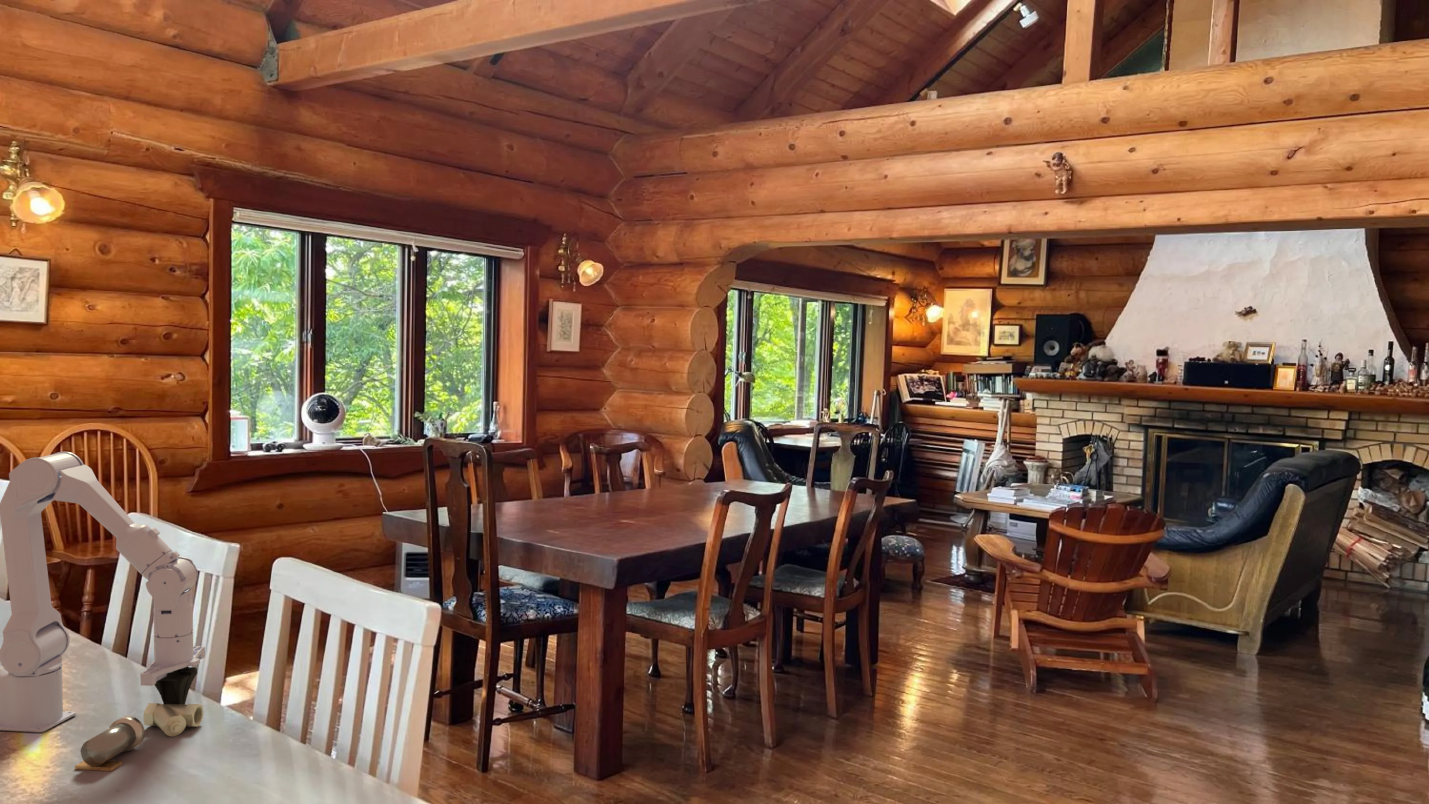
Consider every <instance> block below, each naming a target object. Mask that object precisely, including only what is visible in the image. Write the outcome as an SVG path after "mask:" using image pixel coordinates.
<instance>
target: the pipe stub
mask: <svg viewBox="0 0 1429 804" xmlns="http://www.w3.org/2000/svg"><path fill="white" fill-rule="evenodd" d="M145 730H146V729H145V727H144V723H142V721H141V720H139V719H138V718H136V717H134V716H131V715H127V716H126V715H125V716H122V717H120V718H118V719H117V720H115V721H113V722H112V723H111V724H110V726H109V728H107V729H106V730H104V731H102V732H101V733H98V734H97V735H95V736H92V738H90V739H87V741H85V742H83V744H82V746H81V747H80V755H81V758H82V760H83V761H81V762H79V763H77V764H76V765H74V770H82V771H85V770H86V771H101V772H102V771H104V772H113V771H114V770H116V769H117V768H118V767H121V766H123V761H122V760H111V759H113V758H114V757H116V756H118V755H119V754H121V753H122V752H129V751H132V750H133V749H135V748H137V747H138V746H140V745H141V744H142V743H143V742H144V739H145V736H146V735H145V734H146V731H145Z"/></svg>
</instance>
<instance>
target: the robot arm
mask: <svg viewBox="0 0 1429 804" xmlns="http://www.w3.org/2000/svg"><path fill="white" fill-rule="evenodd" d="M8 478H9V482H8V484H7V486H6V488H5V491H4V493H3V496H2V497H1V500H0V525H1V534H2V543H3V551H4V560H5V568H6V577H7V583H8V585H7V586H8V592H9V593H8V594H9V601H10V602H9V603H10V609H11V610H10V611H11V615H10V618H9V619H8V621H7V622H6V625H5V627H4V628H3V630H2V638H3V639H2V640H3V641H2V644H1V648H0V665H1V666H2V668H3V669H2V670H1V671H0V731H7V732H8V731H9V732H28V733H44V732H46V731H48V730H49V729H52V728H54V727H55V726H57V725H60V723H63V722H65V721H66V720H69V719H71V718H73V717H74V716H76V715H77V712H76V711H70V710H69V711H68V710H67V711H66V710H65V711H64V697H63V696H64V693H63V692H64V691H63V688H64V687H63V655H64V654H65V652H66V651H67V650H68V648H69V646H70V640H71V639H70V638H71V637H70V633H69V632H68V629H66V627H65V626H64V624H63V620H62V615H61V613H60V612H59V611H58V610H57V609H56V608H54V606H53V605H52V599H51V589H50V580H49V573H48V564H47V562H48V561H47V554H46V547H45V546H46V545H45V537H44V528H43V527H44V526H43V520H42V512H43V511H44V510H45V509H46V508H47V507H48V506H49V505H50V504H51V503H52V502H53V501H57V502H65V503H73V504H78V505H79V506H81V507H82V509H84V510H85V511H86V512H87V513H88V514H89V515H91V516H92V517H93V518H94V519H95V520H96V521H97V522H98V523H99V524H101V526H103V527H104V528H105V529H106V530H107V531H108V532H109V533H111V535H112V536H114V537H115V539H116V540H115V549H116V551H117V552H118V553H119V554H120V555H121V556H123V558H125V560H126V561H127V562H128V563H129V564H131V566H132V567H133V568H134V569H135V570H137V572H138V573H139V574H140V575H141V576H142V577H143V578H145V579H146V581H145V588H146V591H147V592H148V593H149V595H150V596H151V597H152V599H153V609H152V610H153V611H152V612H153V649H154V650H153V658H154V659H153V661H152V662H151V663H150V664H149V666H148V667H147V669H145V670H144V671H143V672H140V686H145V687H146V686H148V687H149V686H150V687H153V686H155V688H156V690H157V691H158V694H159V695H160V697H161V700H162V704H180V705H186V704H187V703H186V702H187V698H188V695H189V690H190V688H191V686H192V683H193V681H194V679H195V678H196V676H197V675H198V668H197V667H196V666H197V665H199V664H200V663H201V660H203V659H204V658H205V657H206V647H205V646H201V645H200V646H199V645H198V646H197V645H195V646H194V605H193V589H192V587H194V585H195V584H196V582H197V580H198V576H199V572H198V569H197V566H196V565H195V564H194V562H193V560H192V559H190V558H189V557H186V556H181V555H180V553H179V552H178V551H177V550H175V551H173V550H172V548H171V547H170V546H169V545H168V544H167V543H166V542H165V541H164V540H163V539H162V538H161V537H160V536H159V535H160V533H161V532H160V531H159V530H158V529H157V528H156V527H153V528H151V527H150V526H149V525H148V524H140V523H135V521H133V520H132V518H131V517H130V516H129V514H127V512H126V511H125V510H124V509H123V508H122V507H121V505H119V503H118V502H117V500H115V498H113V496H112V495H111V494H110V493H109V492H108V491H107V489H106V488H105V487H104V486H103V485H102V483H100V481H98V479H97V477H96V475H95V473H94V471H93V469H92V468H91V467H90V466H88V465H87V464H84V462H83V460H82V459H81V458H80V457H79V456H78V455H76V454H75V453H73V452H69V451H58V452H55V453H53V454H48V455H44V456H41V457H40V456H39V457H31V458H27V459H25V460H23V461H22V462H21V463H20V464H18V465H16V467H14V468H13V469H12V470H11V471H10V472H8Z"/></svg>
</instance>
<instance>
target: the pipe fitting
mask: <svg viewBox="0 0 1429 804" xmlns="http://www.w3.org/2000/svg"><path fill="white" fill-rule="evenodd" d="M143 712H144V713H143V715H142V717H143V718H142V719H143V725H145V726H150V727H158V728H160V730H162V732H163V733H164V734H165V735H166V736H168V737H176V736H178V735H180V734H182V733H183V732H184V730H185V729H186V727H192V728H193V727H195V728H197V727H198V728H199V726H200V725H201V724H202V721H203V718H204V705H203V704H200V703H188V704H185V705H180V704H163V703H157V702H150V703H148V704H147V705H146V707H145V709H144V711H143Z"/></svg>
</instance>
